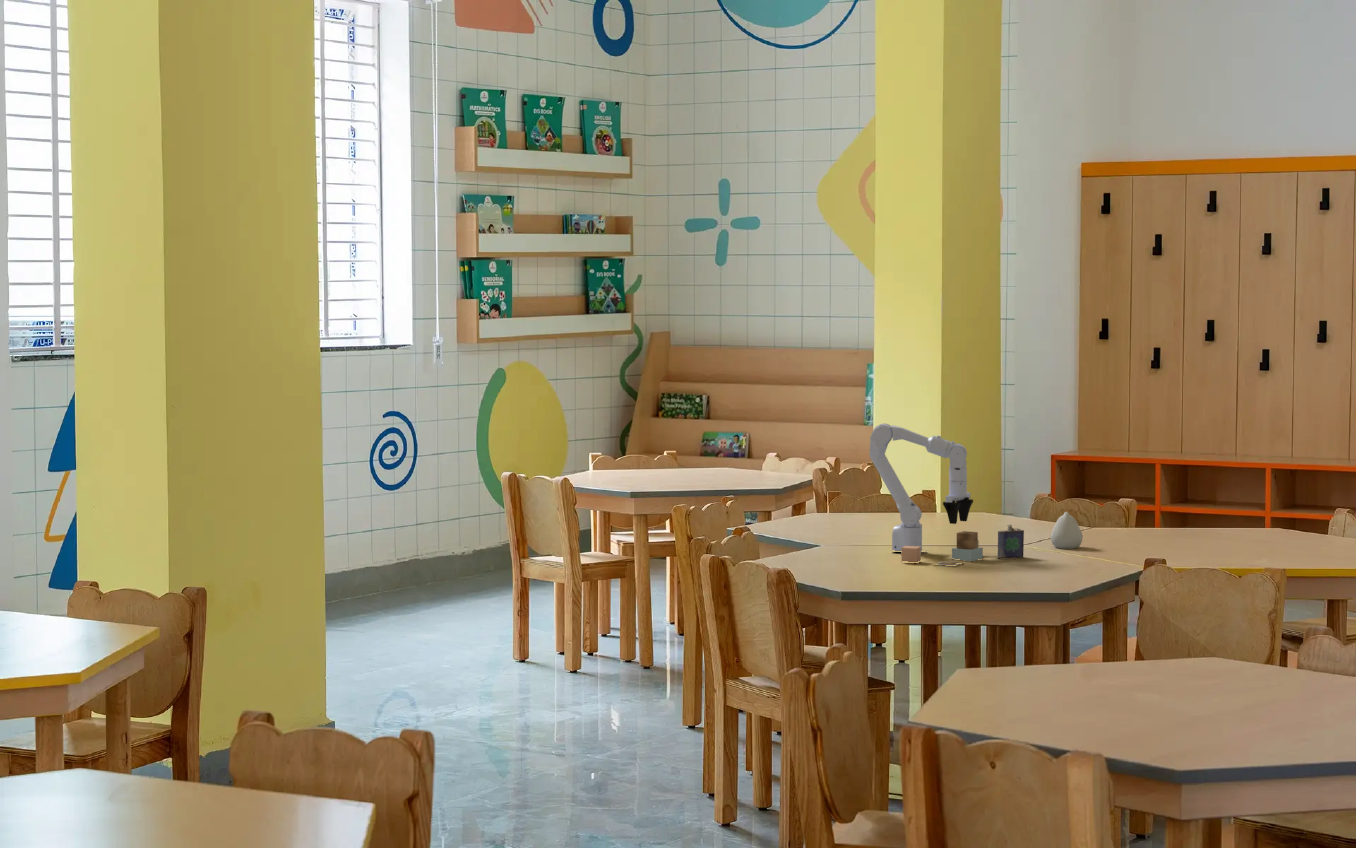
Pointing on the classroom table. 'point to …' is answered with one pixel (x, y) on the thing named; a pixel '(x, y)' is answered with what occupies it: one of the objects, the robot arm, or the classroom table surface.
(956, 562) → the grey square frame
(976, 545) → the walnut cube
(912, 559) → the terracotta cube
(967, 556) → the base block
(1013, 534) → the flask
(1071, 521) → the grey teardrop shape
